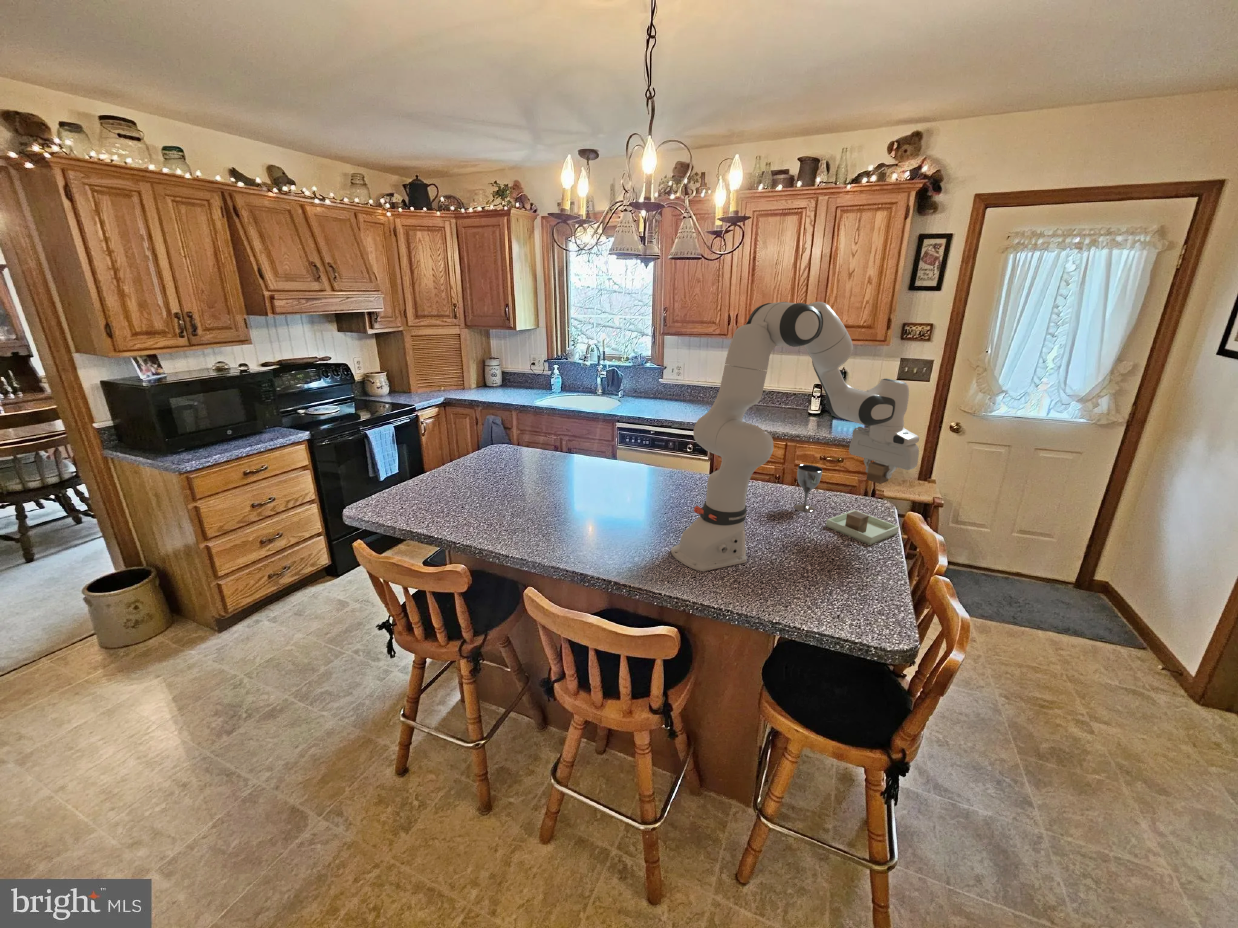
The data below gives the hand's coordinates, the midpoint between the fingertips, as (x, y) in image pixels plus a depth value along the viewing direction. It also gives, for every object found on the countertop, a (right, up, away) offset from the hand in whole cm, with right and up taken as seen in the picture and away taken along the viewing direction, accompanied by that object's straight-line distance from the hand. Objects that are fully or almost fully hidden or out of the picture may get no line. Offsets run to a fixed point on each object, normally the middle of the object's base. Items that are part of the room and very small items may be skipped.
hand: (878, 475), depth 155 cm
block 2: (0, -2, +1) cm, 2 cm away
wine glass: (-15, -12, +21) cm, 28 cm away
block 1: (-6, -18, +2) cm, 19 cm away
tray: (-3, -18, +4) cm, 18 cm away
